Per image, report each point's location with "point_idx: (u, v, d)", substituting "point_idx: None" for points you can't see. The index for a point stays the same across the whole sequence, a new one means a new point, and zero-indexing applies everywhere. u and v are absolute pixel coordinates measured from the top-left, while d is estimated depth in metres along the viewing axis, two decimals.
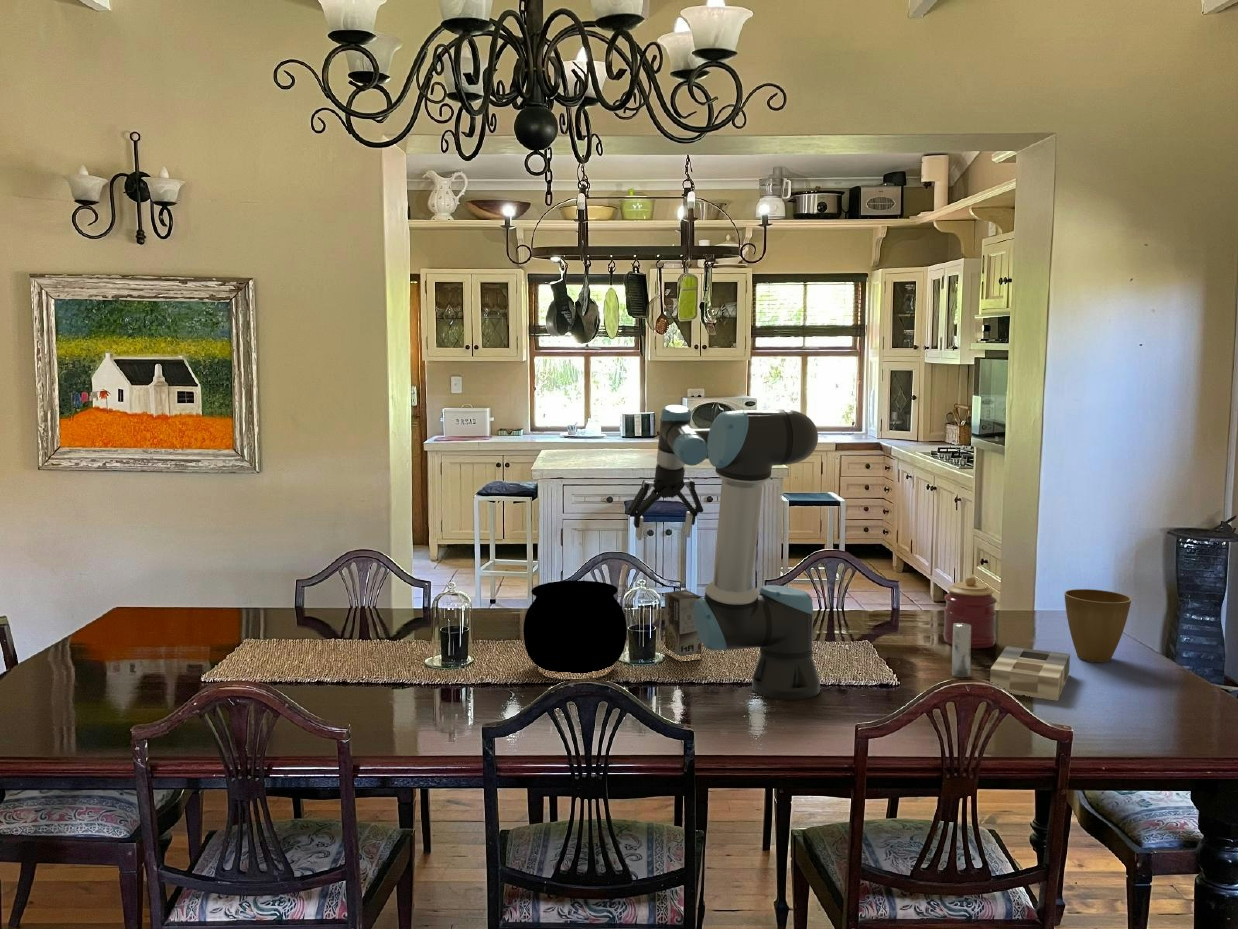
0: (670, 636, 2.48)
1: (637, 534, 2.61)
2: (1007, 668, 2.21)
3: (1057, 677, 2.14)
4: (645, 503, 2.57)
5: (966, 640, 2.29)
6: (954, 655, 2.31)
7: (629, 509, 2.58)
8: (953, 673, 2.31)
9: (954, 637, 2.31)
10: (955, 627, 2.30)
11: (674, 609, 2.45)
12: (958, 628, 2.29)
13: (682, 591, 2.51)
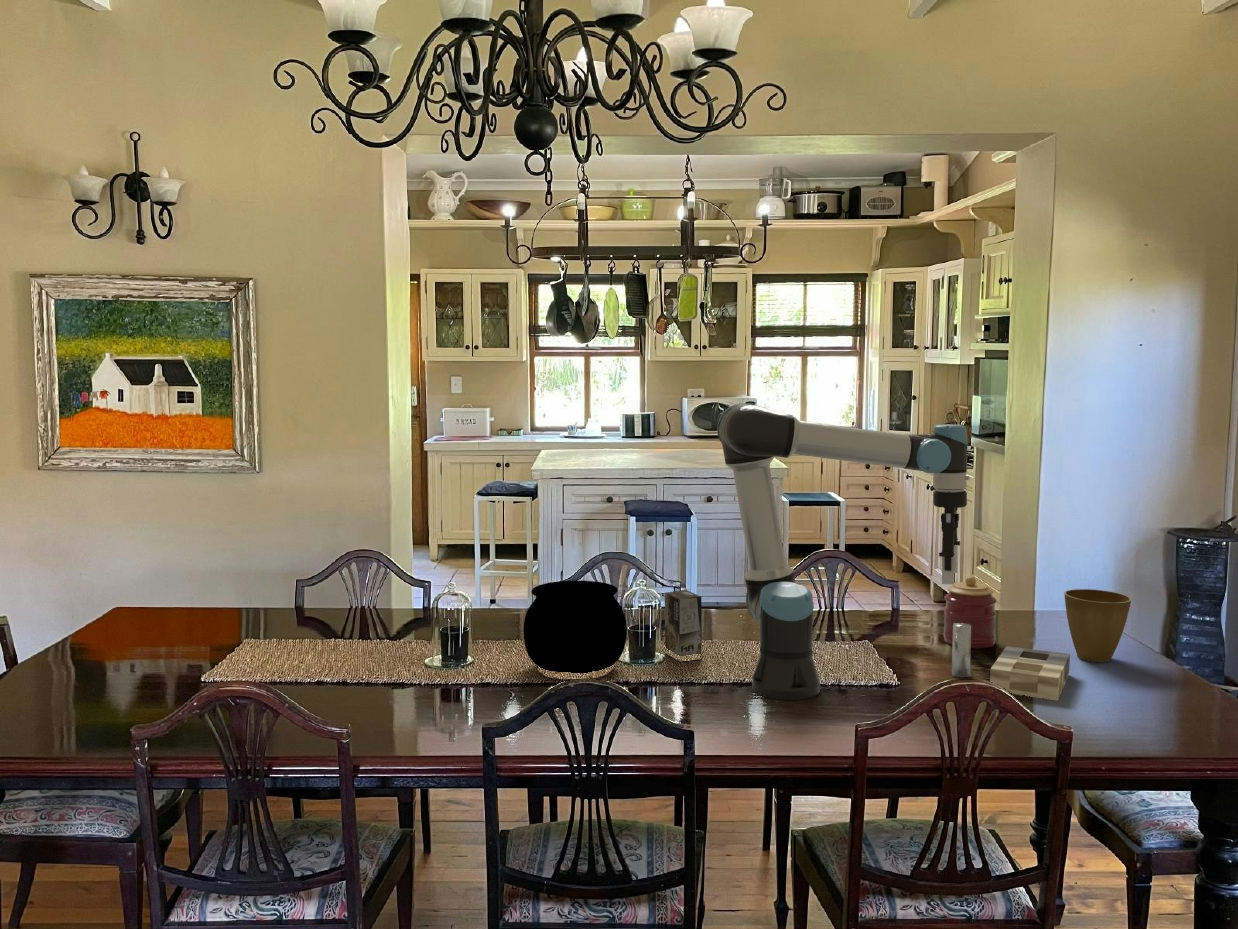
0: (670, 636, 2.48)
1: None
2: (1007, 668, 2.21)
3: (1057, 677, 2.14)
4: None
5: (966, 640, 2.29)
6: (954, 655, 2.31)
7: None
8: (953, 673, 2.31)
9: (954, 637, 2.31)
10: (955, 627, 2.30)
11: (674, 609, 2.45)
12: (958, 628, 2.29)
13: (682, 591, 2.51)
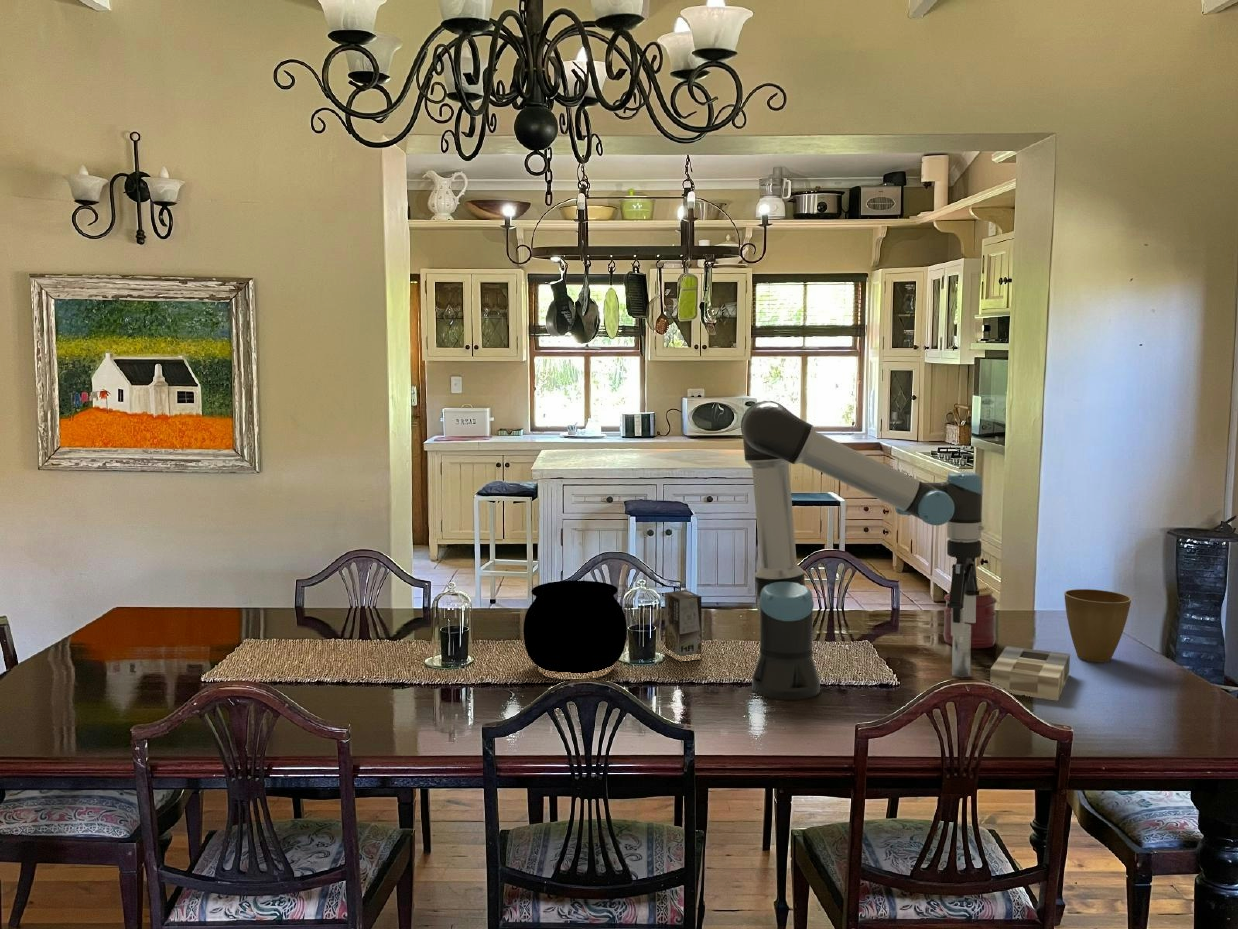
0: (670, 636, 2.48)
1: None
2: (1007, 668, 2.21)
3: (1057, 677, 2.14)
4: None
5: (966, 640, 2.29)
6: (954, 655, 2.31)
7: None
8: (953, 673, 2.31)
9: (954, 637, 2.31)
10: None
11: (674, 609, 2.45)
12: None
13: (682, 591, 2.51)
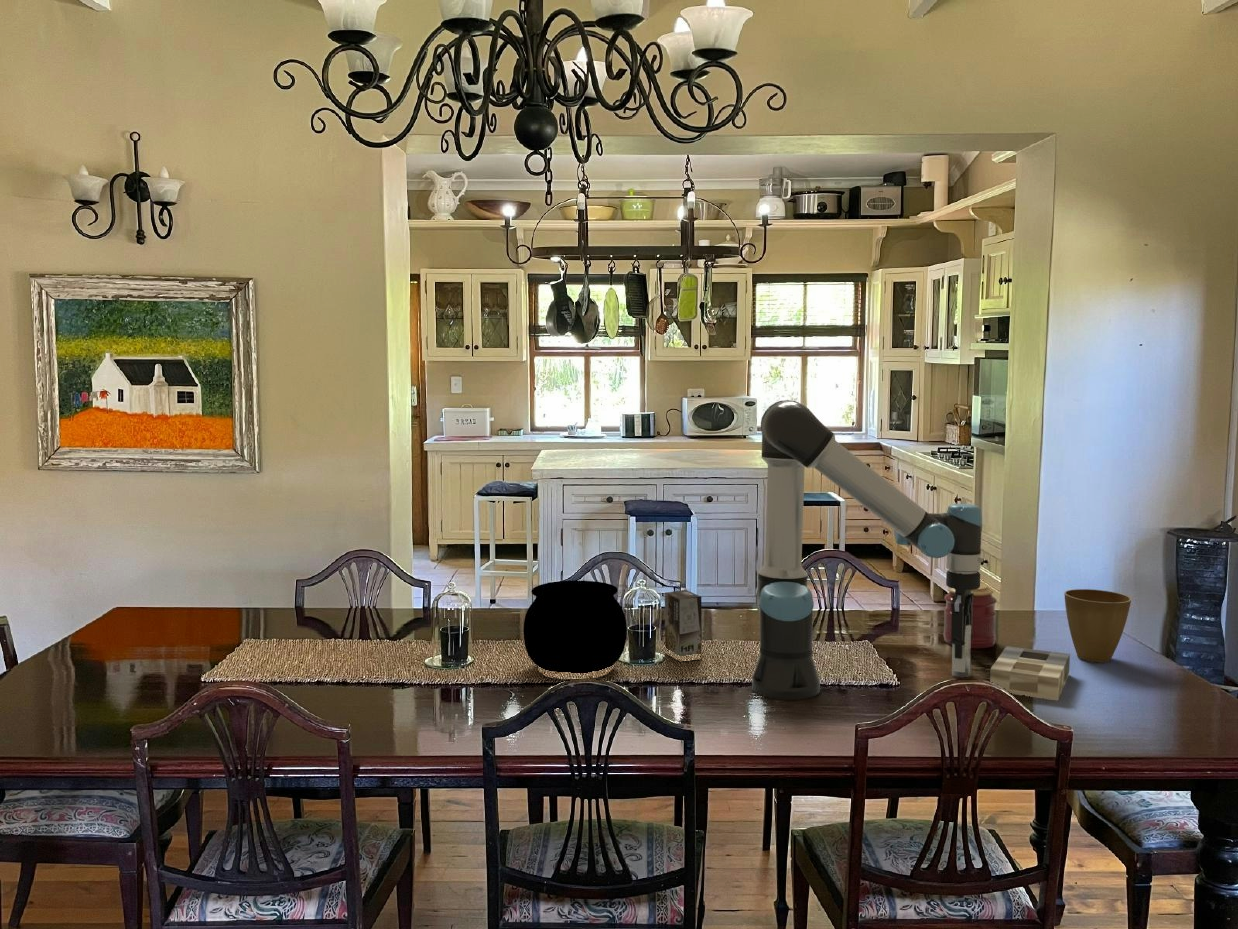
0: (670, 636, 2.48)
1: None
2: (1007, 668, 2.21)
3: (1057, 677, 2.14)
4: None
5: (966, 639, 2.29)
6: None
7: None
8: (953, 673, 2.31)
9: None
10: None
11: (674, 609, 2.45)
12: None
13: (682, 591, 2.51)
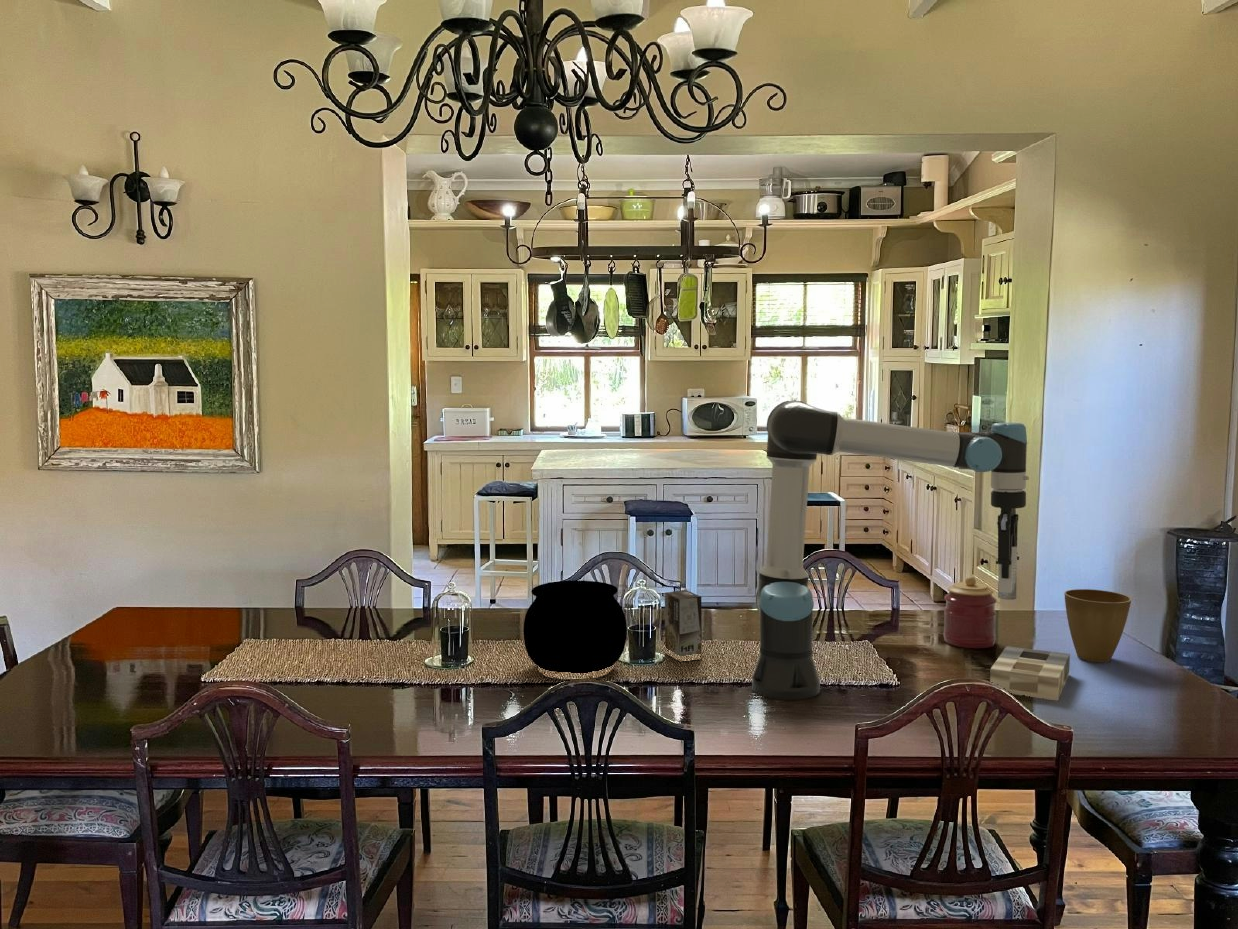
0: (670, 636, 2.48)
1: None
2: (1007, 668, 2.21)
3: (1057, 677, 2.14)
4: None
5: (1012, 561, 2.27)
6: None
7: None
8: (999, 595, 2.29)
9: None
10: None
11: (674, 609, 2.45)
12: None
13: (682, 591, 2.51)
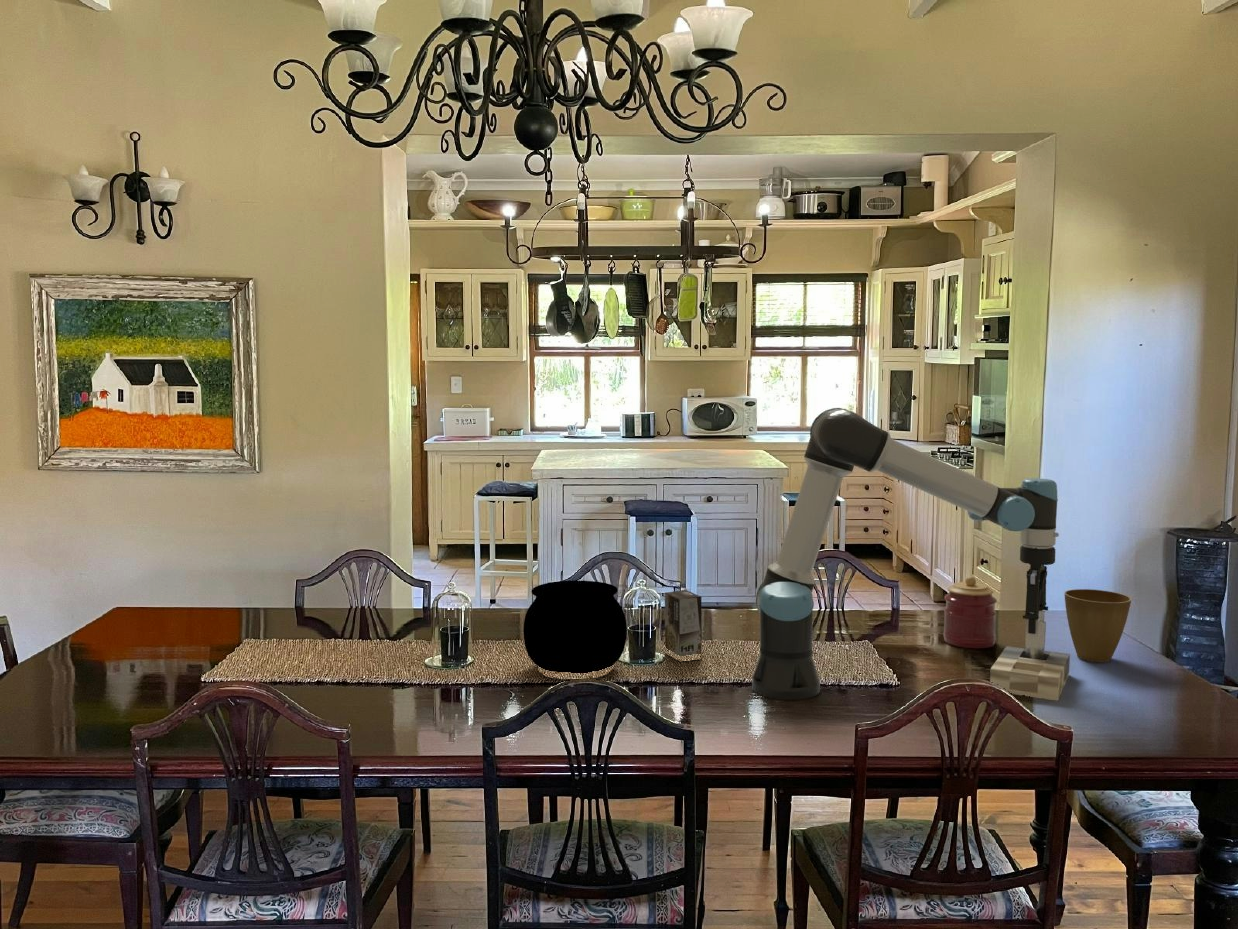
0: (670, 636, 2.48)
1: None
2: (1007, 668, 2.21)
3: (1057, 677, 2.14)
4: None
5: (1040, 636, 2.28)
6: (1028, 651, 2.29)
7: None
8: None
9: None
10: None
11: (674, 609, 2.45)
12: None
13: (682, 591, 2.51)
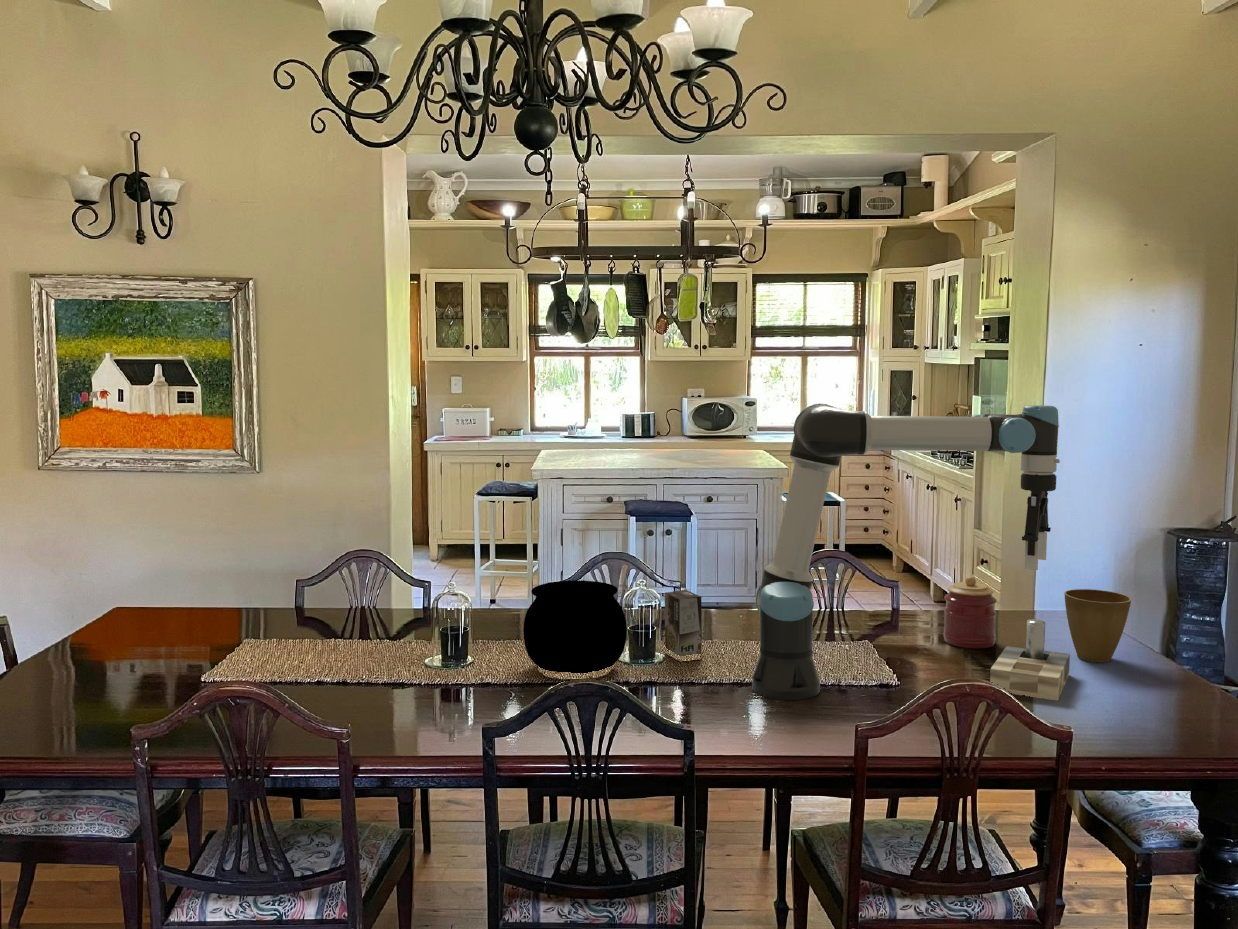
0: (670, 636, 2.48)
1: None
2: (1007, 668, 2.21)
3: (1057, 677, 2.14)
4: None
5: (1040, 636, 2.28)
6: (1027, 651, 2.30)
7: None
8: None
9: (1027, 634, 2.29)
10: (1029, 623, 2.29)
11: (674, 609, 2.45)
12: (1032, 625, 2.28)
13: (682, 591, 2.51)
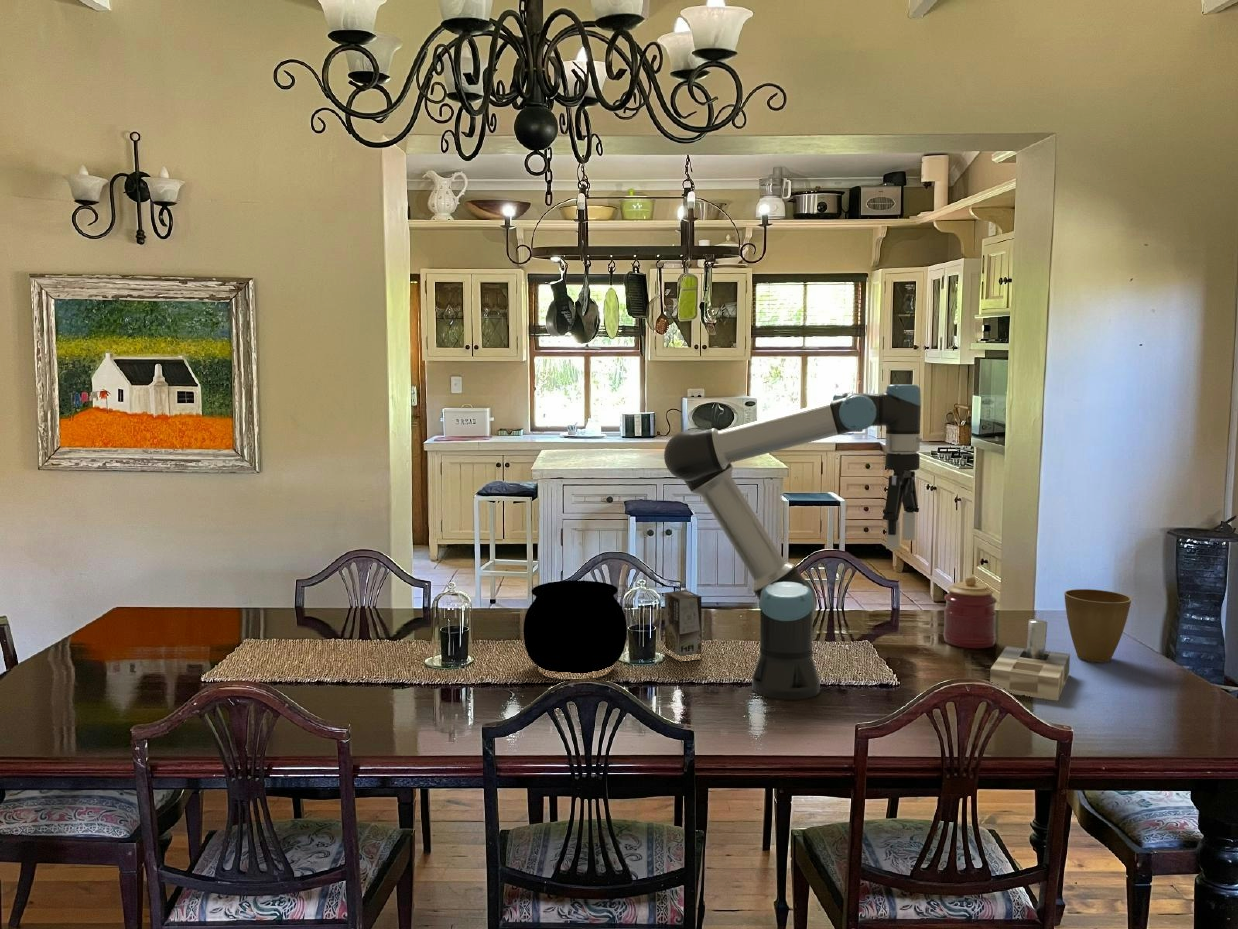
0: (670, 636, 2.48)
1: None
2: (1007, 668, 2.21)
3: (1057, 677, 2.14)
4: None
5: (1041, 636, 2.28)
6: (1028, 651, 2.30)
7: None
8: None
9: (1028, 633, 2.29)
10: (1031, 623, 2.29)
11: (674, 609, 2.45)
12: (1034, 624, 2.28)
13: (682, 591, 2.51)
